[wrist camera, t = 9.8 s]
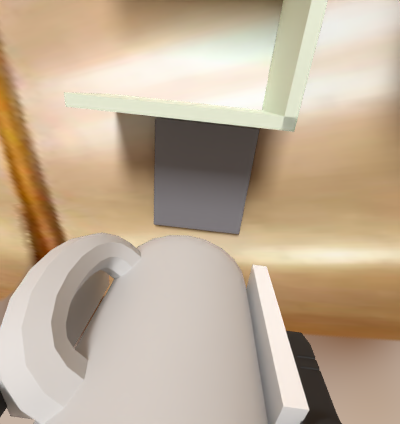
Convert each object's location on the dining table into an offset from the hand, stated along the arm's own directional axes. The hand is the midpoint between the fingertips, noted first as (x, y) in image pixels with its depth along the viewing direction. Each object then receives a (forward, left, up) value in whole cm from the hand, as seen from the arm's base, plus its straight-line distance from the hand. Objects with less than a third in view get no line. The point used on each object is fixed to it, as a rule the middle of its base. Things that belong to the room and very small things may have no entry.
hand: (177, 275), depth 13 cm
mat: (+1, 0, -19) cm, 19 cm away
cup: (0, -1, 0) cm, 1 cm away
